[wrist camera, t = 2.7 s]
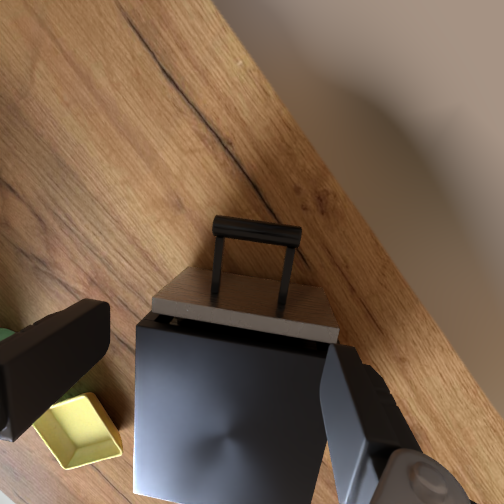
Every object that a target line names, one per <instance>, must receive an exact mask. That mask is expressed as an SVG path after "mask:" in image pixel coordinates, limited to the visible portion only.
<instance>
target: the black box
mask: <svg viewBox="0 0 504 504" xmlns="http://www.w3.org/2000/svg"><path fill="white" fill-rule="evenodd" d="M173 318H174V317H173V316H167V315H161V314H156V313H152V310H151V311H150V312H149V313H148V314H147V315H146V316H145V317H144V318H143V319H142V320H141V321H140V322H139V323H138V324H137V325H136V356H135V423H134V491H133V492H134V493H136V494H141V495H145V496H149V497H154V498H158V499H163V500H167V501H172V502H176V503H180V504H311V501H312V497H313V493H314V489H315V485H316V481H317V477H318V474H319V470H320V466H321V462H322V458H323V454H324V450H325V446H326V443H327V435H326V430H325V424H324V419H323V414H322V408H321V403H320V383H321V378H322V374H323V369H324V365H325V361H326V357H327V353H328V349H329V346H330V344H329V343H323V342H318V341H316V345H317V349H318V350H314V349H308V348H303V347H297V346H291V345H285V344H280V343H274V342H268V341H263V340H257V339H251V338H245V337H240V336H234V335H228V334H223V333H217V332H211V331H206V330H200V329H194V328H188V327H183V326H177V325H171V324H169V323H170V322H171V320H172V319H173ZM336 344H340V342H339V340H338V339H337V343H336Z"/></svg>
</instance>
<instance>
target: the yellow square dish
mask: <svg viewBox="0 0 504 504" xmlns="http://www.w3.org/2000/svg"><path fill="white" fill-rule="evenodd" d="M32 425H33V427H34V428H35V430H36V431H37V432H38V434H39V435H40V436H41V438H42V439H43V441H44V442H45V444H46V445H47V446H48V448H49V449H50V451H51V452H52V453H53V455H54V456H55V458H56V459H57V461H58V462H59V463H60V465H61V466H62V467H63V468H65V469H73V468H76V467H80V466H83V465H87V464H90V463H93V462H97V461H102V460H105V459H109V458H112V457H116V456H120V455H121V454H122V453H123V446H122V440H121V437H120V434H119V431H118V430H117V428H116V427H115V425H114V424H113V422H112V420H111V419H110V417H109V416H108V414H107V413H106V411H105V409H104V408H103V406H102V405H101V403H100V402H99V400H98V398H97V397H96V395H95V394H94V393H91V392H87V393H83V394H81V395H78V396H75V397H72V398H69V399H66V400H63V401H60V402H57V403H55V404H53V405H52V406H51V407H50V408H49V409H48V410H47V411H46V412H45V413H44V414H43V415H42V416H41V417H40V418H39V419H38V420H36V421H35V422H34V423H33V424H32Z"/></svg>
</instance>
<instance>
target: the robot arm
mask: <svg viewBox="0 0 504 504" xmlns="http://www.w3.org/2000/svg"><path fill="white" fill-rule="evenodd" d="M109 344H110V305H109V304H108V303H107V302H104V301H99V300H93V299H88V298H85V299H82V300H81V301H79V302H77V303H75V304H73V305H72V306H70V307H68V308H66V309H64V310H62V311H59V312H56V313H53V314H50V315H47V316H46V317H44V318H42V319H40V320H38V321H36V322H35V323H33V325H29V326H27V327H25V328H24V329H22V330H21V331H20V332H16V333H14V334H13V335H11V336H9V337H7V338H5V339H3V340H2V341H0V439H1V440H5V441H10V442H14V441H15V440H16V439H18V438H19V437H20V436H21V435H22V434H23V433H24V432H25V431H26V430H27V429H28V428H29V427H30V426H31V425H32V424H33V423H34V422H35V421H36V420H38V419H39V418H40V417H41V416H42V415H43V414H44V413H45V412H46V411H47V410H48V409H49V408H50V407H51V406H52V405H53V404H54V403H55V402H56V401H58V400H59V399H60V398H61V397H62V396H63V395H64V394H65V393H66V392H67V391H68V390H69V389H70V388H71V387H72V386H73V385H74V384H75V383H76V382H77V381H79V380H80V379H81V378H82V377H83V376H84V375H85V374H86V373H87V372H88V371H89V370H90V369H91V368H92V367H93V366H94V365H95V364H96V363H97V362H99V361H100V360H101V359H102V358H103V356H104V355H105V354H106V352H107V350H108V347H109ZM320 403H321V408H322V414H323V419H324V424H325V430H326V435H327V441H328V446H329V451H330V457H331V462H332V467H333V473H334V478H335V484H336V489H337V494H338V500H339V504H477V503H475V502H473V501H471V500H470V499H469V498H468V496H467V494H466V492H465V491H464V489H463V488H462V486H461V485H460V483H459V482H458V481H457V480H456V479H455V477H454V476H453V475H452V474H451V473H450V472H449V471H448V470H447V469H446V468H444V467H443V466H442V465H441V464H439V463H438V462H437V461H435V460H434V459H432V458H431V457H429V456H427V455H425V454H423V452H422V450H421V448H420V446H419V444H418V443H417V441H416V439H415V437H414V435H413V433H412V431H411V430H410V428H409V426H408V424H407V422H406V420H405V418H404V417H403V415H402V413H401V411H400V409H399V407H398V406H396V402H395V400H394V398H393V396H392V394H390V391H389V389H388V387H387V385H386V383H385V381H384V379H383V378H382V377H381V376H380V375H379V374H378V373H377V372H376V371H375V370H374V369H373V368H372V367H371V366H370V365H366V364H363V363H362V361H361V359H360V357H359V355H358V353H357V351H356V349H355V347H353V346H347V345H341V344H336V343H331V344H330V346H329V349H328V353H327V357H326V361H325V365H324V369H323V374H322V378H321V383H320Z"/></svg>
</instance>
